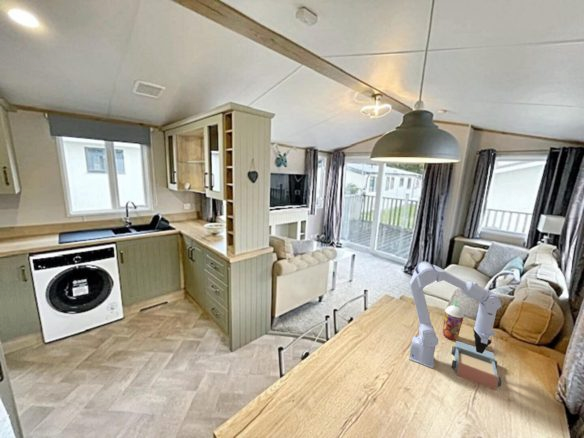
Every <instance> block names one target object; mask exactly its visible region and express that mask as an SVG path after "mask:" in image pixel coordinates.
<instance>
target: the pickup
mask: <svg viewBox="0 0 584 438" xmlns="http://www.w3.org/2000/svg"><path fill="white" fill-rule="evenodd" d="M451 354H452V355H454V359H452V362H451V368H452V369H454V373H455V374H456V373H457V368H458V363H459V362H460V363H463V364H465V365H468V366H471V367H474V368H476V369H479V370H482V371H485V372H487V373H490V374H493V375H496V376H498V377H499V378H498V382H497V387H496V388H497V389H498V386H500V387H501V385H502V377H501V376H499V374H498V371H497V367H498V360H496V359H495V354H494V352H492V351H489V350H486V349H485V350H484V352H483V353H482V354H481V353H478V352H476V346H473V345H470V344H467V343H465V342H461V341H458V340H455V346H454V345H452V347H451Z"/></svg>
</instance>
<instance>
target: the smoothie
mask: <svg viewBox="0 0 584 438" xmlns="http://www.w3.org/2000/svg"><path fill="white" fill-rule="evenodd" d="M443 316H444V317H443V326H442V334H443V337H444V336H445V337H444V338H446V339H447V338H448V340H450V341H457V340H458V338H459V335H460V331H461V328H462V324H463V321H464V317H465V314H464V312H463V310H462V308H461V307H459V306H458V300H455V304H451V305H449V306H447V307H446V308H445V309H444V315H443Z"/></svg>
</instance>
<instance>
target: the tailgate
mask: <svg viewBox="0 0 584 438" xmlns="http://www.w3.org/2000/svg"><path fill="white" fill-rule="evenodd" d="M455 374H456V376H458V377H461V378H463V379H466V380H469V381H471V382H475V383H477V384H479V385H482V386H484V387H487V388H489V389H492V390H495V391H496V390H497V389H496V387H497V388H498V386H497V382H498V378H499V377H500V376H499V375H498V376H499V377H498V376H496V375H493V374H490V373H487V372H485V371H482V370H479V369H476V368H474V367H471V366H468V365H465V364H463V363H460V362H459V363H458V368H457V373H455Z"/></svg>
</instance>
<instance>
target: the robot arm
mask: <svg viewBox="0 0 584 438" xmlns="http://www.w3.org/2000/svg"><path fill="white" fill-rule="evenodd" d="M443 281H444V282H446V283H447V284H450V285H451V286H455V287H457V288H458V289H460V290H461V292H462V294H463V295H465V296H467V297H469V298H471V299H473V300H475V301H477V302H479V304H478V309H477V314H476V319H475V322H474V323H475V324H474V327H473V328H472V331H473V333H474V334H473V337H474V344H475V346H474V347H476V352H478V353H481V354H482V353H483V352H484V350H486V348H487V347H488V346H489V345H491V344H492V340H491V339H490V338H491V337H492V336H494V337H496V332H494V331H493V329H494V325H495V324H494V323H495V319H496V314H497V312H498V310H499V309H500V308H501V307H502V302H501V299H500V297H499V296H497V295H496V294H495V292H493V291H491V290H490V289H488V288H484V287H482V286H480V285H479V283H477V282H475V281H473V282H472V281H470V280H469V281H464V280H463V279H460V278H458V277H457V276H456V275H453V274H452V273H450V272H448V271H446V270H445V269H443V268H441V267H439V266H437V265H435V264H431V262H428V261H421V262H419V263H418V264H417V265H416V266H415V267H414V269H413V273H412V276H411V279H410V281H409V286H410V289H411V290H410V291H411V295H412V298H413V301H414V305H415V309H416V310H415V311H416V314H417V319H418V328H417V329H418V332H419V335H418V336H412V340H411V345H410V346H411V347H409V358H408V359H409V360H410V361H413V362H415V363H417V364H419V365H420V364H421V365H424V366H426V367H428V368H431V369H434V365H435V364H434V363H435V352H436V347H437V345H438V344H439V338H438V336H437V335H436V332H435V329H434V326H433V324H432V321H431V318H430V313H429V309H428V308H429V307H428V305H427V301H426V295H425V291H424V289H425V288H426V286H429V285H431V284H433V283H435V282H436V283H439V282H440V283H441V282H443Z"/></svg>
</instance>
